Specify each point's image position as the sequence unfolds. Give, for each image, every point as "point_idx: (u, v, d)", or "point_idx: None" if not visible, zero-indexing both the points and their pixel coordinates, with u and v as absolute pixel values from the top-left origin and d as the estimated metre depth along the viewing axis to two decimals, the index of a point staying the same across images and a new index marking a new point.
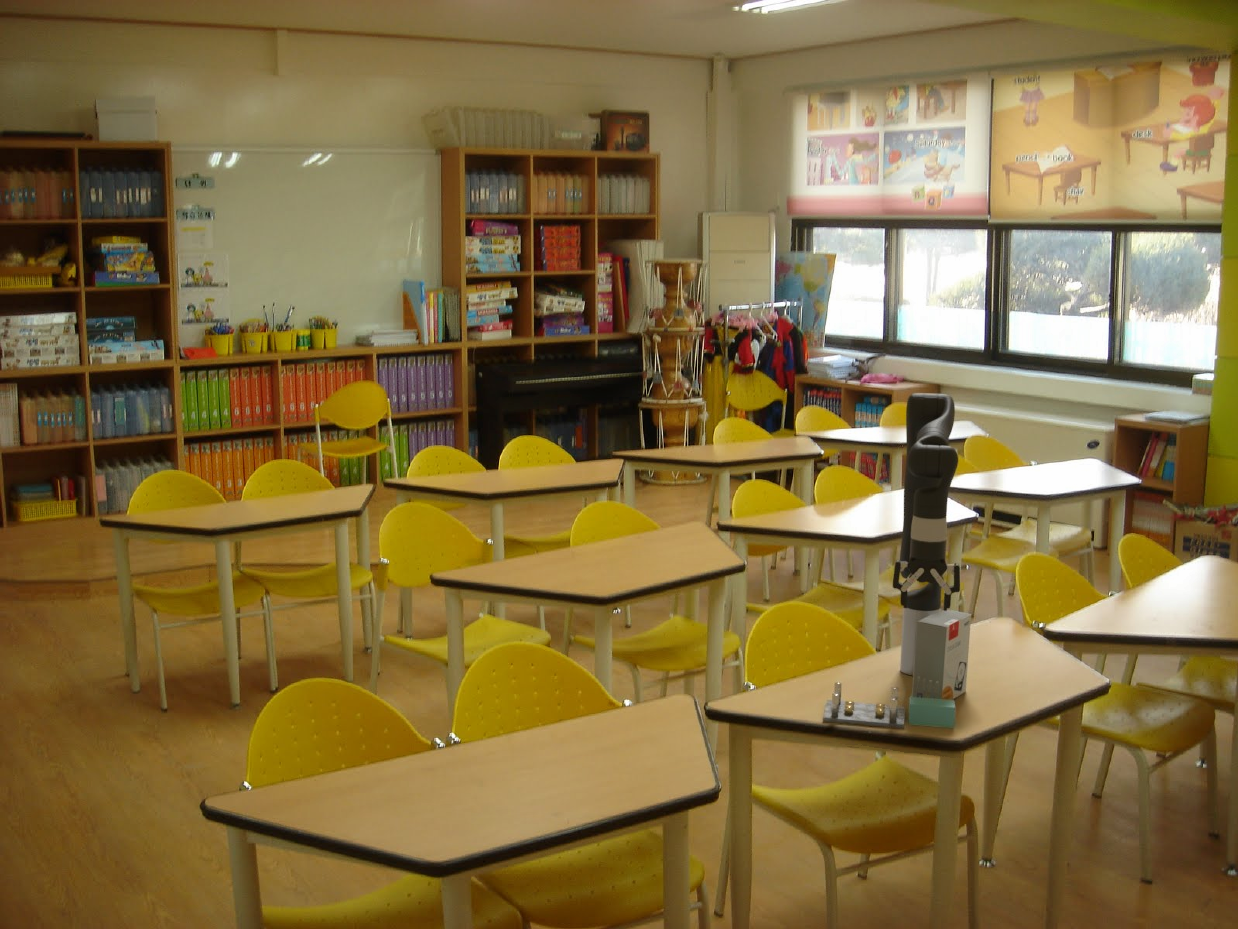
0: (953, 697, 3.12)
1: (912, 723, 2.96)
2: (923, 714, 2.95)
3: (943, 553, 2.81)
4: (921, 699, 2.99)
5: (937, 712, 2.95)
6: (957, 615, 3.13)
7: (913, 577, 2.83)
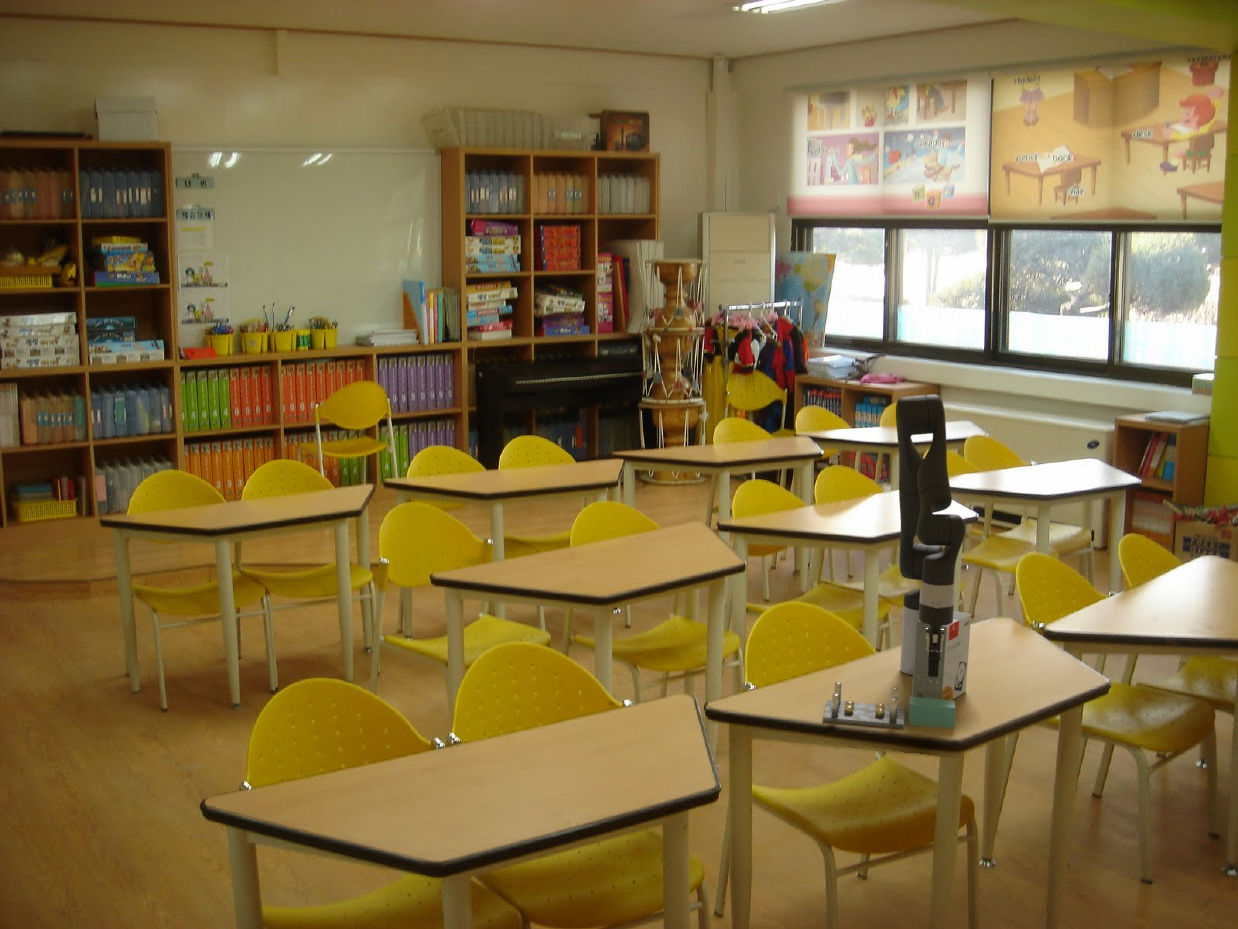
0: (953, 697, 3.12)
1: (912, 723, 2.96)
2: (923, 714, 2.95)
3: None
4: (921, 699, 2.99)
5: (937, 712, 2.95)
6: (957, 615, 3.13)
7: (942, 643, 2.92)
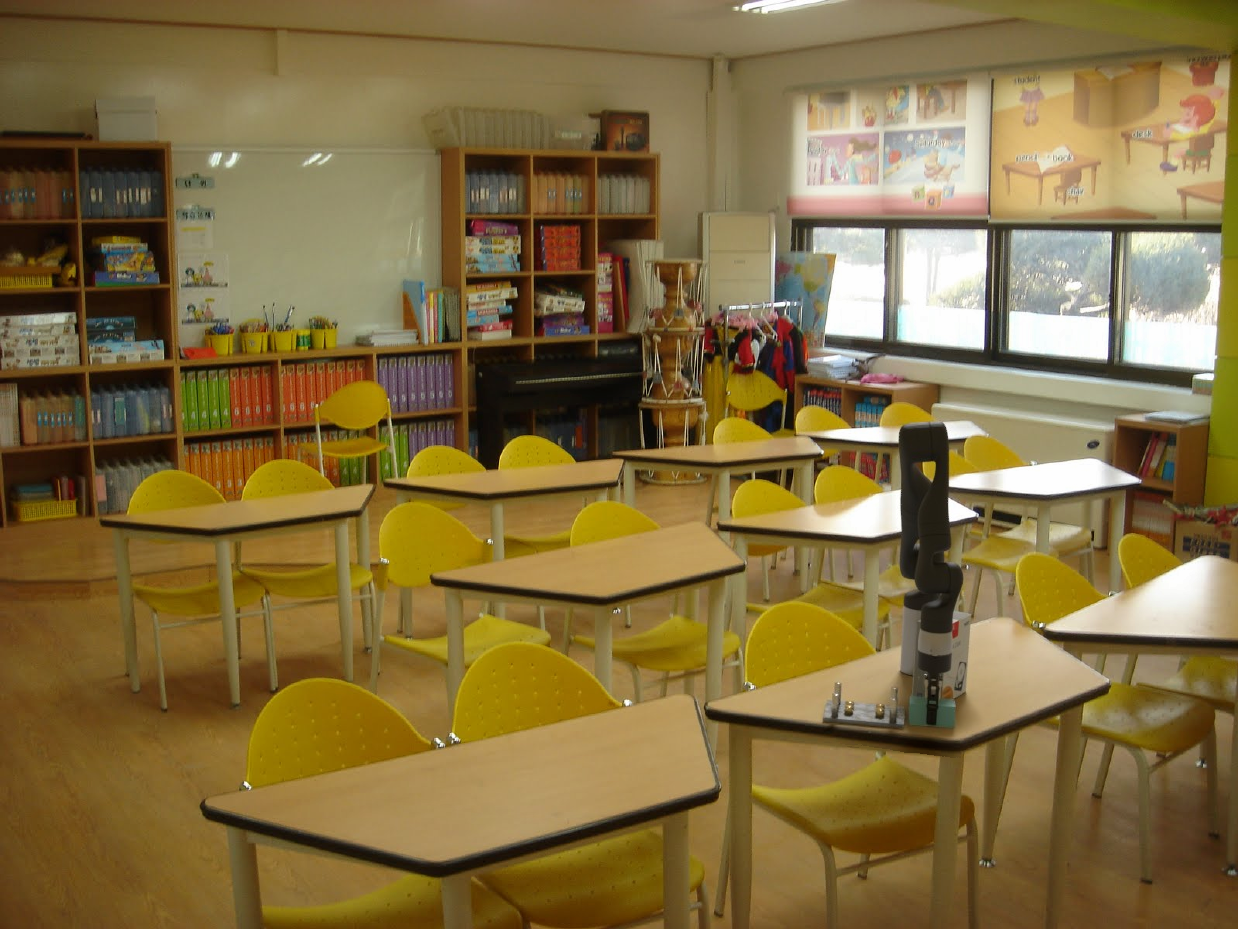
0: (953, 697, 3.12)
1: (912, 722, 2.96)
2: (923, 714, 2.95)
3: None
4: (921, 698, 2.99)
5: (938, 711, 2.95)
6: (957, 615, 3.13)
7: (940, 691, 2.93)
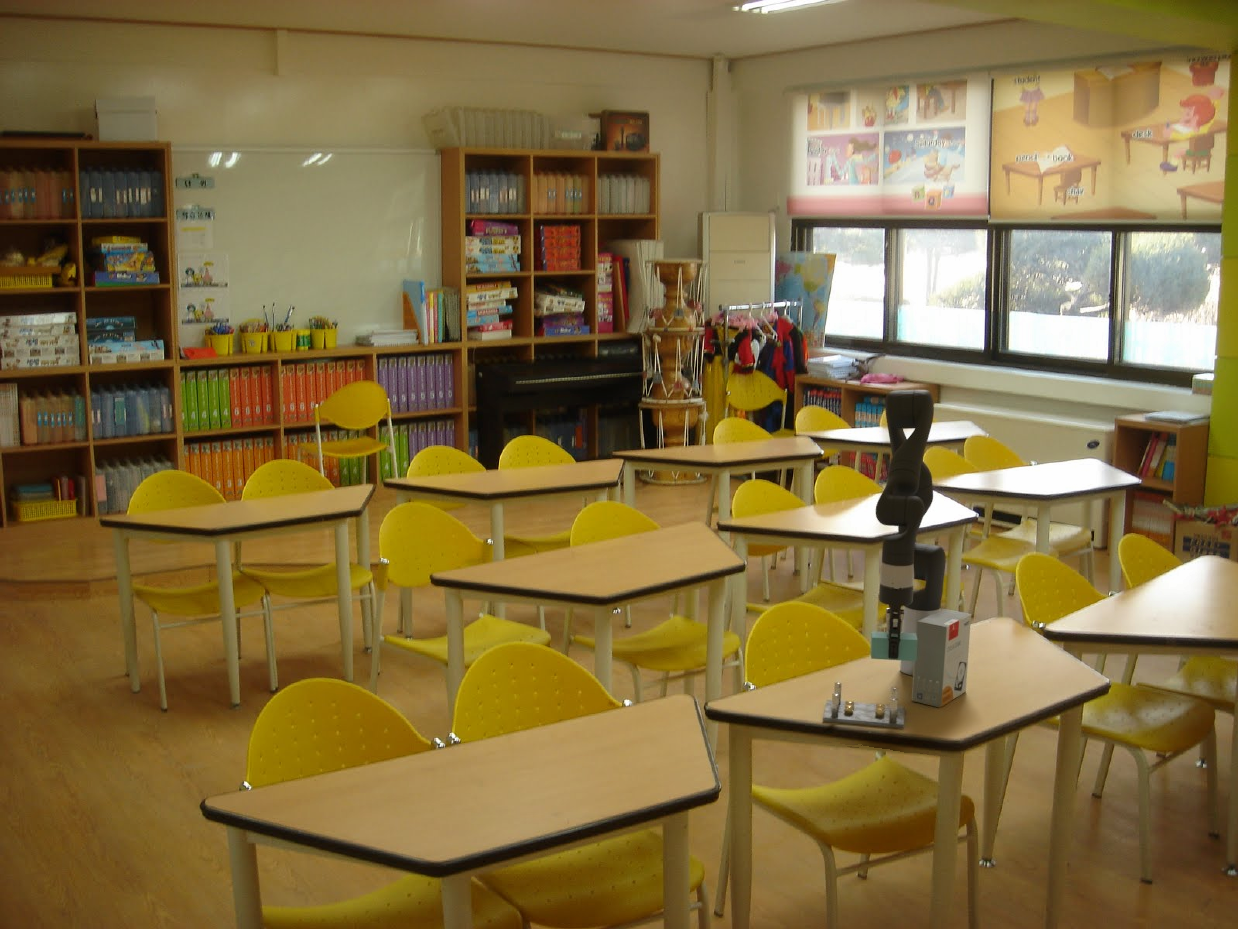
0: (953, 697, 3.12)
1: (874, 656, 2.95)
2: (885, 647, 2.95)
3: None
4: (883, 633, 2.98)
5: (900, 645, 2.94)
6: (957, 615, 3.13)
7: (902, 624, 2.93)
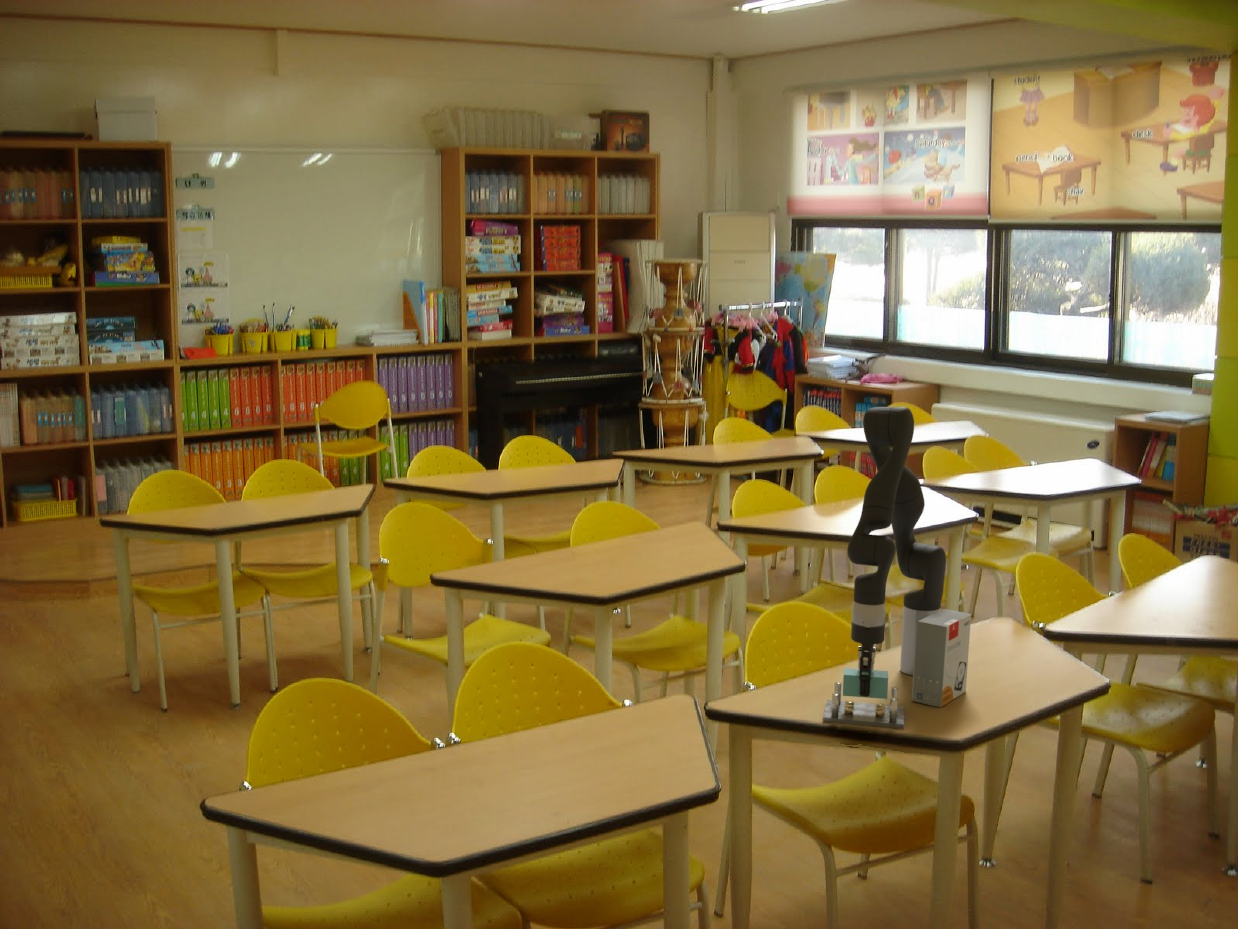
0: (953, 697, 3.12)
1: (846, 694, 2.99)
2: (856, 685, 2.98)
3: None
4: (855, 670, 3.01)
5: (871, 682, 2.97)
6: (957, 615, 3.13)
7: (873, 662, 2.96)
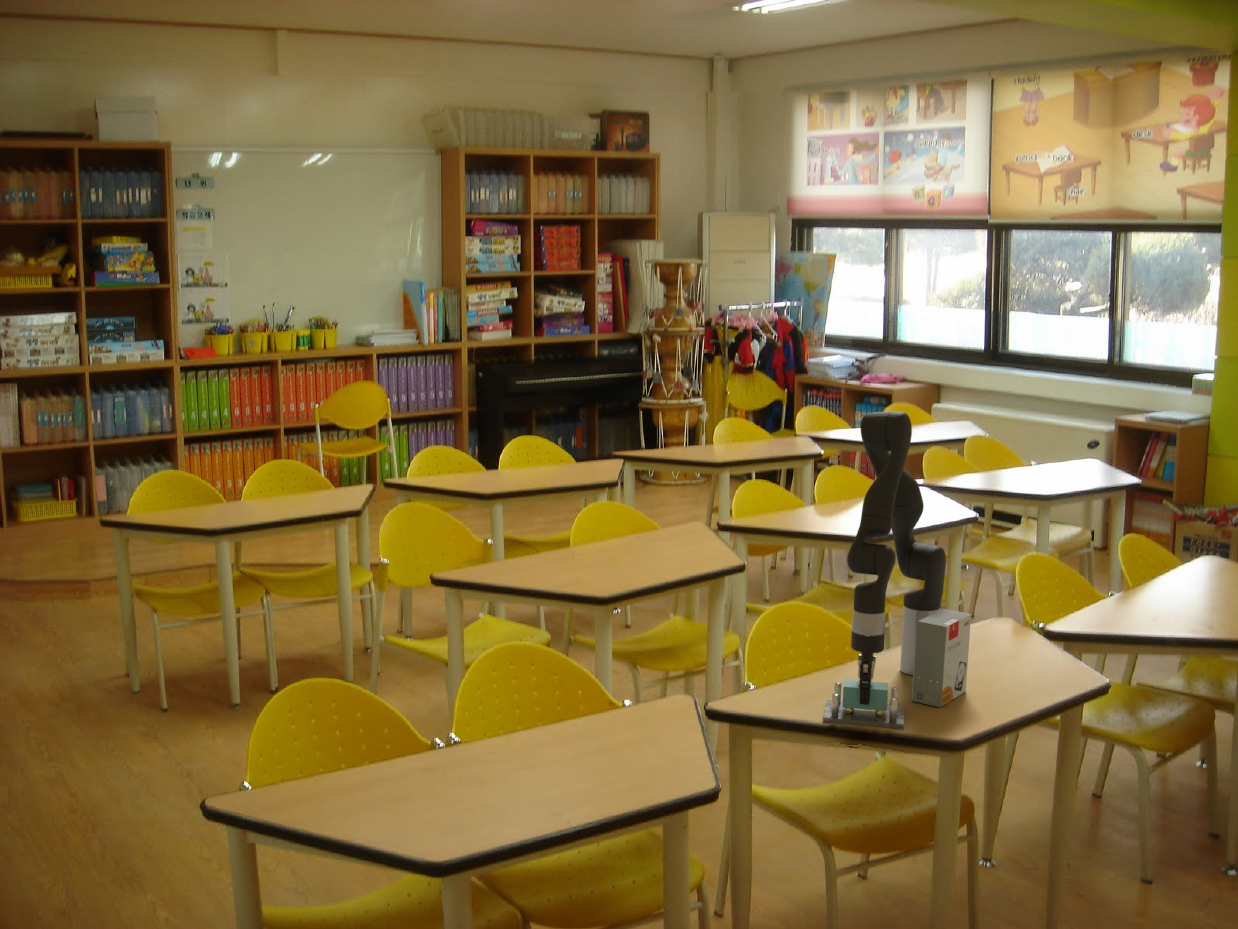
0: (953, 697, 3.12)
1: (846, 705, 2.99)
2: (856, 697, 2.98)
3: None
4: (855, 682, 3.02)
5: (870, 694, 2.98)
6: (957, 615, 3.13)
7: (873, 671, 2.96)
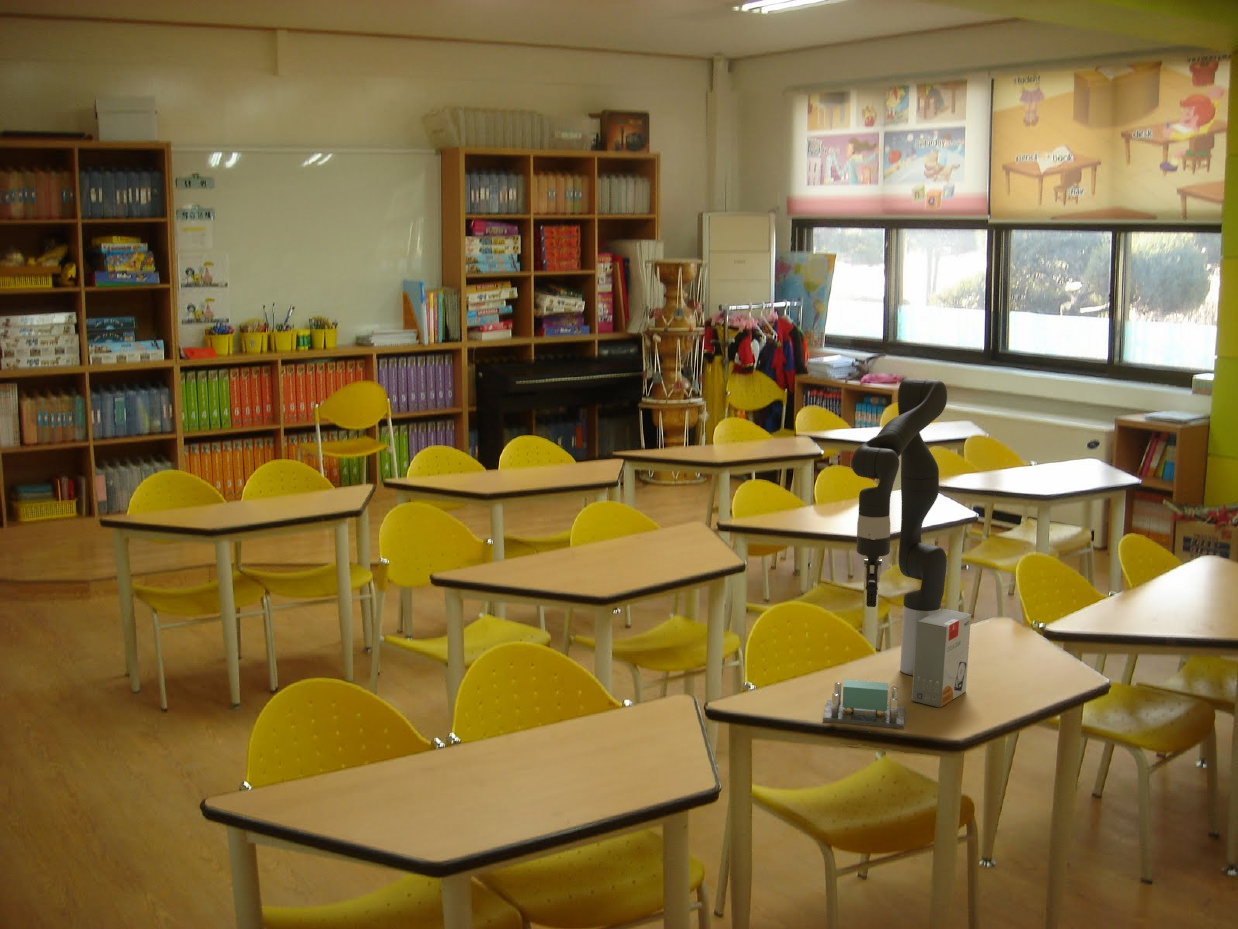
0: (953, 697, 3.12)
1: (846, 705, 2.99)
2: (856, 697, 2.98)
3: None
4: (855, 682, 3.02)
5: (870, 694, 2.98)
6: (957, 615, 3.13)
7: (879, 574, 2.99)
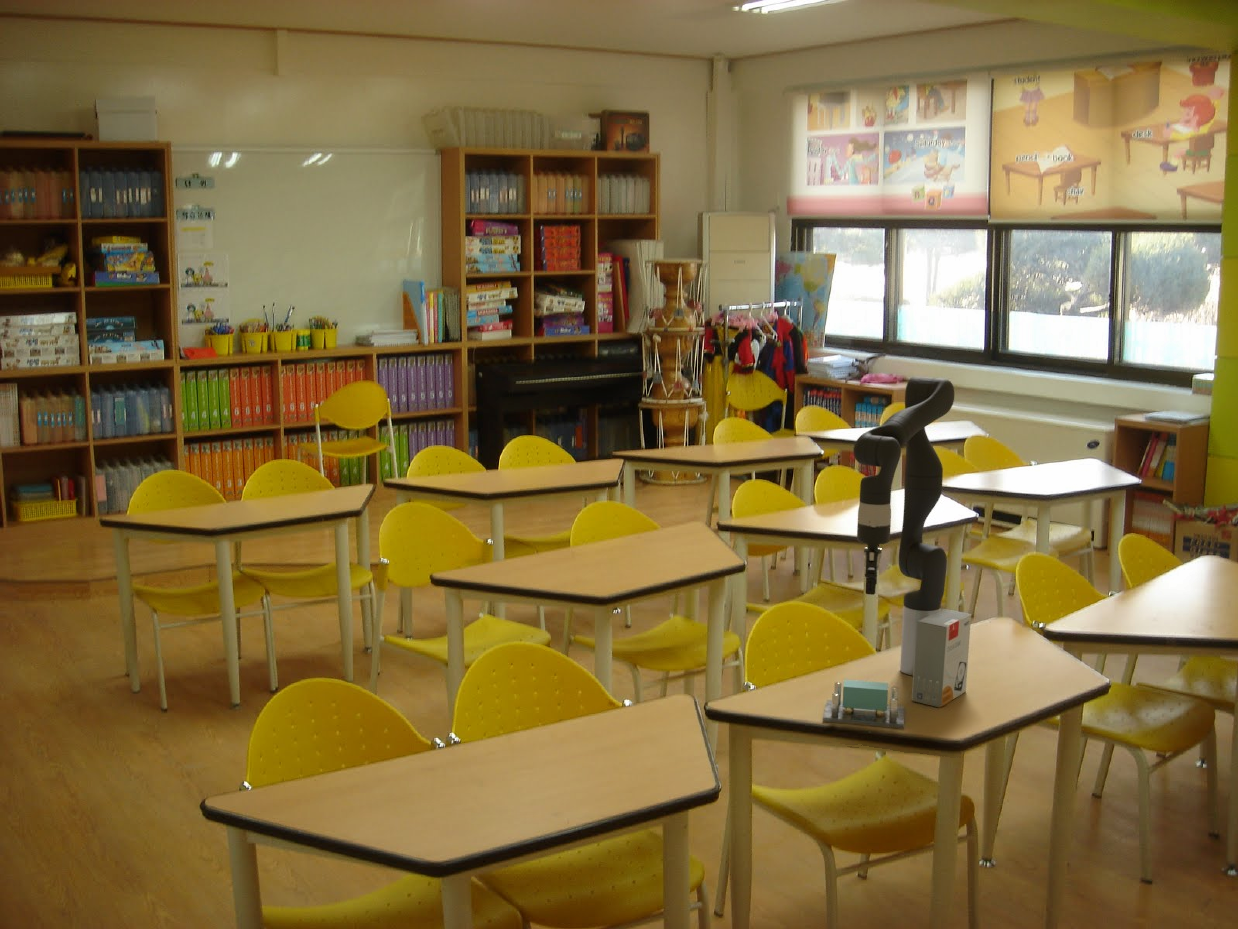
0: (953, 697, 3.12)
1: (846, 705, 2.99)
2: (856, 697, 2.98)
3: None
4: (855, 682, 3.02)
5: (870, 694, 2.98)
6: (957, 615, 3.13)
7: (879, 562, 3.00)
